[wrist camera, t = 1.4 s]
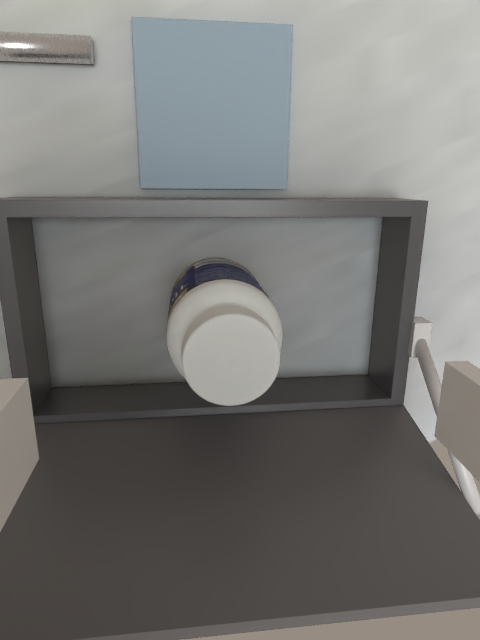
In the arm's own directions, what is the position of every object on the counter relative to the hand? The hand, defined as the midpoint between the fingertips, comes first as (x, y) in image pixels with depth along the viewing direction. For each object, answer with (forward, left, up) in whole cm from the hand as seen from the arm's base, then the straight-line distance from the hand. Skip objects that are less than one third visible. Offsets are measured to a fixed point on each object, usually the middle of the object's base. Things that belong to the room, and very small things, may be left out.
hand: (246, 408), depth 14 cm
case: (0, -1, -14) cm, 14 cm away
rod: (-10, +13, -14) cm, 21 cm away
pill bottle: (0, 0, -14) cm, 14 cm away
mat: (0, +10, -14) cm, 17 cm away
